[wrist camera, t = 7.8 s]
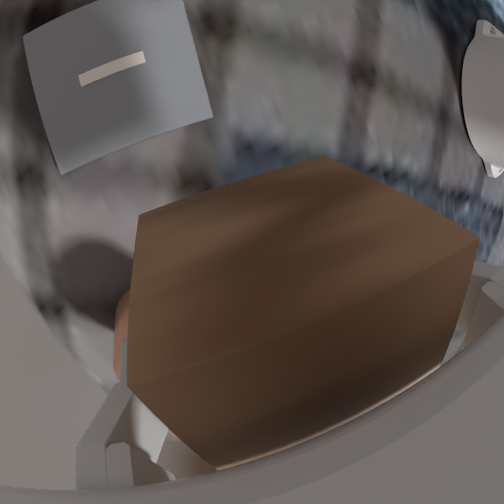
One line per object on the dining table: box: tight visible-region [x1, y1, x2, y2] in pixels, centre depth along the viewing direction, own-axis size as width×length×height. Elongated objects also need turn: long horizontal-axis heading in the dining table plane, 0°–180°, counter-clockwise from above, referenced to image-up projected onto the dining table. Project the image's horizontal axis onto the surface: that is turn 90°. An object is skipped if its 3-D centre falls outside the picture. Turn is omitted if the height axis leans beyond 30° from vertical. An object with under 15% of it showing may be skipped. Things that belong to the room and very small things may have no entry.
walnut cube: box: [127, 156, 479, 470], centre depth 8 cm, size 6×6×6 cm
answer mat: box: [23, 0, 213, 175], centre depth 12 cm, size 9×9×1 cm
